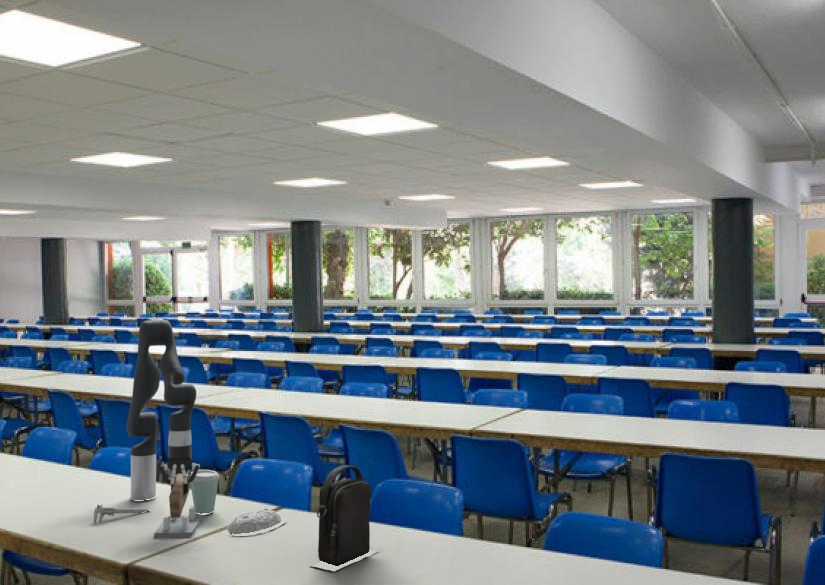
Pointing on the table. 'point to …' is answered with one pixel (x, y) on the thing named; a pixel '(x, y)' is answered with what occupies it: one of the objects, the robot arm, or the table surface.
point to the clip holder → (179, 525)
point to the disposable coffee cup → (204, 490)
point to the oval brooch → (254, 521)
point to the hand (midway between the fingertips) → (179, 494)
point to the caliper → (111, 512)
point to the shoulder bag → (344, 518)
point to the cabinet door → (177, 497)
